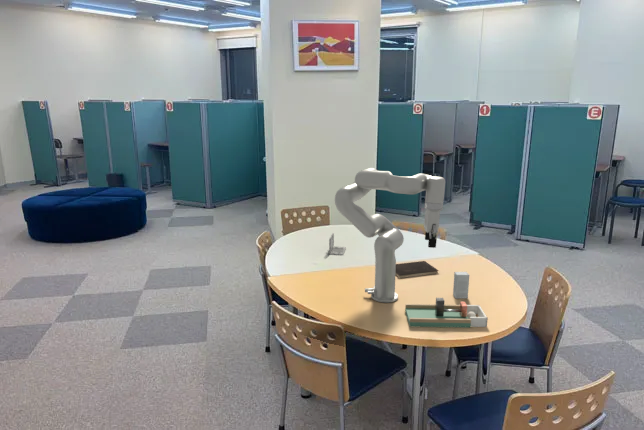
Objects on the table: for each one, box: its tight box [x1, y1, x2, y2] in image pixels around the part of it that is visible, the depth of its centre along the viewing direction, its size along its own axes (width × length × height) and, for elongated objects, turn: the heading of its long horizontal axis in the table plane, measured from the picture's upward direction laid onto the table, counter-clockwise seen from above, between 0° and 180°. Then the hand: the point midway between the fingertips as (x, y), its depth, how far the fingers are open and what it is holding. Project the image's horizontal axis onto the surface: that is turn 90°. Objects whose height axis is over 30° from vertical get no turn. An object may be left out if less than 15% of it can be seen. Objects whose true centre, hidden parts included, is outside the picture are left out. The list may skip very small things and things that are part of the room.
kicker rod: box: [435, 297, 468, 317], centre depth 197 cm, size 12×4×7 cm, turn 87°
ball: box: [467, 312, 477, 319], centre depth 198 cm, size 4×4×4 cm
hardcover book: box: [395, 260, 439, 279], centre depth 253 cm, size 16×23×2 cm
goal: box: [466, 304, 489, 328], centre depth 198 cm, size 7×12×4 cm, turn 178°
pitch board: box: [404, 303, 472, 329], centre depth 199 cm, size 25×14×4 cm, turn 87°
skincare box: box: [452, 271, 470, 299], centre depth 219 cm, size 6×4×12 cm
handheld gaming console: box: [327, 232, 347, 256], centre depth 283 cm, size 13×9×10 cm
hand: (430, 243), depth 202 cm, fingers open, 9 cm apart
